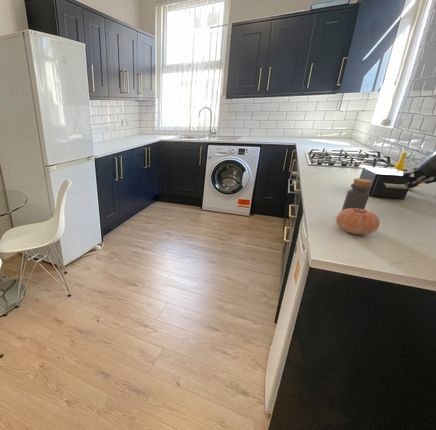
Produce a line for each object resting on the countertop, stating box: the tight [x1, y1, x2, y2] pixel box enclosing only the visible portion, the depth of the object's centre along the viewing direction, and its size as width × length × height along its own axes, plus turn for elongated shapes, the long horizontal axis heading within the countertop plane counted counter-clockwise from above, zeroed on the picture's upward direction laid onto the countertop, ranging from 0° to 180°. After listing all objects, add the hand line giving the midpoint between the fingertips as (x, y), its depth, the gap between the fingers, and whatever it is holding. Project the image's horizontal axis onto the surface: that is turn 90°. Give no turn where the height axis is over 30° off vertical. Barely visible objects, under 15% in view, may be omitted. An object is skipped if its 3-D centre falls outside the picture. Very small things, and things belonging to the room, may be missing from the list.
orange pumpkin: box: [335, 208, 381, 236], centre depth 90 cm, size 11×11×8 cm
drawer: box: [371, 176, 410, 199], centre depth 124 cm, size 18×11×8 cm, turn 158°
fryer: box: [359, 166, 413, 200], centre depth 128 cm, size 15×13×10 cm
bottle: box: [341, 177, 372, 211], centre depth 97 cm, size 6×6×15 cm
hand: (409, 186), depth 109 cm, fingers closed
